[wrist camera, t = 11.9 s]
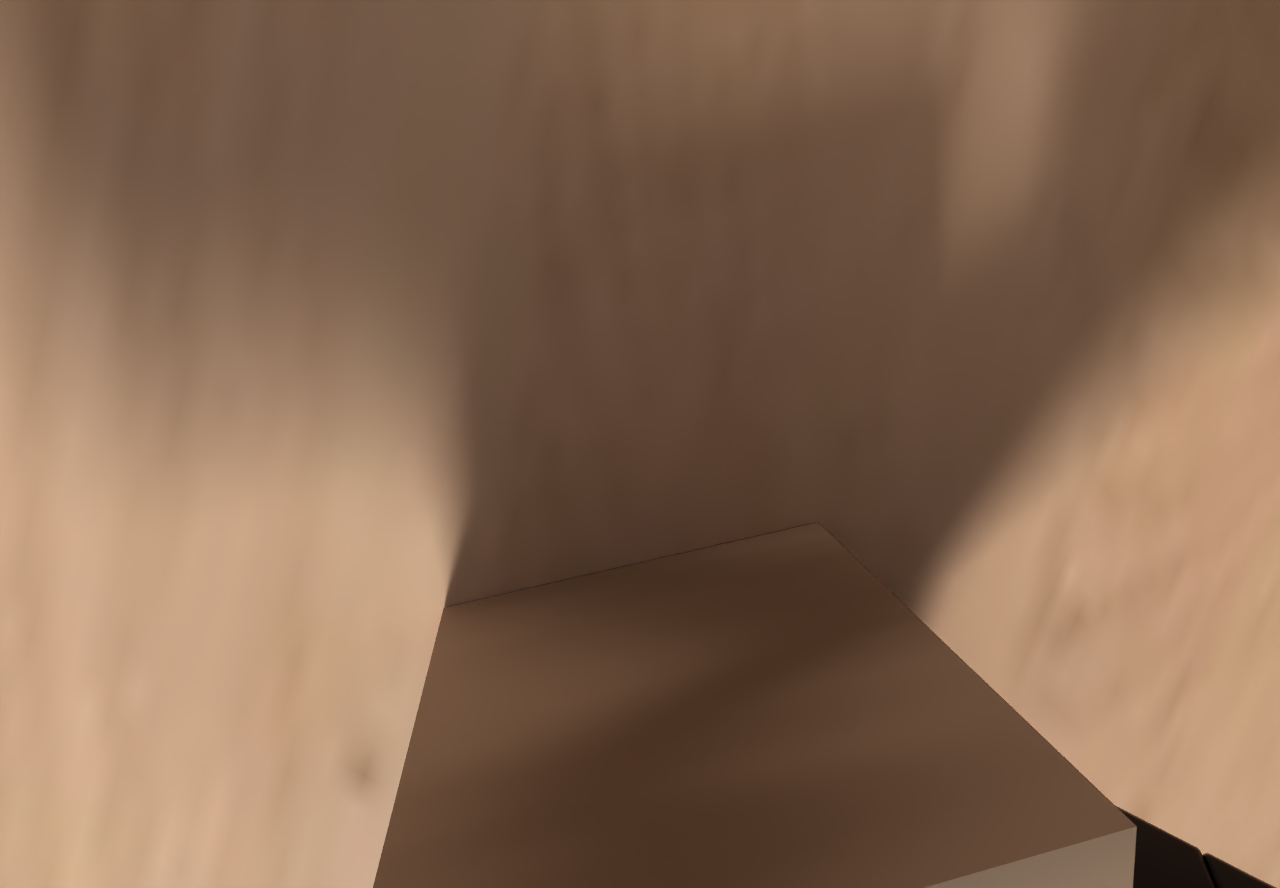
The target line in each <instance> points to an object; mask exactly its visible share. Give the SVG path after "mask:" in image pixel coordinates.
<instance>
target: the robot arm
mask: <svg viewBox="0 0 1280 888" xmlns="http://www.w3.org/2000/svg"><path fill="white" fill-rule="evenodd" d="M1116 807H1117V806H1116ZM1117 808H1118V809H1119V810H1120V811H1121V812H1122V813H1123V814H1124V815H1125V816H1126V817H1127V818H1128V819H1130V820H1131V821H1132V822H1133V823H1134V824H1135V825H1136V826H1137V831H1136V847H1135V863H1134V878H1133V888H1276V887H1274V886H1272V885H1270V884H1268V883H1266V882H1264V881H1262V880H1260V879H1258V878H1256V877H1254V876H1252V875H1250V874H1248V873H1246V872H1244V871H1242V870H1240V869H1238V868H1236V867H1234V866H1232V865H1230V864H1228V863H1226V862H1224V861H1222V860H1220V859H1219V858H1217V857H1215V856H1213V855H1211V854H1208V853H1205V854H1203V855H1202V853H1201V852H1200V850H1199V849H1198V848H1197V847H1195V846H1193V845H1191V844H1189V843H1187V842H1185V841H1183V840H1181V839H1179V838H1177V837H1175V836H1173V835H1171V834H1169V833H1168V832H1166V831H1164V830H1162V829H1160V828H1158V827H1156V826H1154V825H1152V824H1150V823H1148V822H1146V821H1144V820H1142V819H1140V818H1138V817H1136V816H1134V815H1133V814H1131V813H1129V812H1127V811H1125V810H1123V809H1121V808H1119V807H1117Z"/></svg>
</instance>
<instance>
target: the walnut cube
mask: <svg viewBox="0 0 1280 888" xmlns="http://www.w3.org/2000/svg"><path fill="white" fill-rule="evenodd" d="M1136 831H1137V826H1136V825H1135V824H1134V823H1133V822H1132V821H1131V820H1130V819H1128V818H1127V817H1126V816H1125V815H1124V814H1123V813H1122V812H1121V811H1120V810H1119V809H1118V808H1117V807H1116V806H1115V805H1114V804H1113V803H1112V802H1111V801H1110V800H1109V799H1108V798H1106V797H1105V796H1104V795H1103V794H1102V793H1101V792H1100V791H1099V790H1098V789H1097V788H1096V787H1095V786H1094V785H1093V784H1092V783H1091V782H1090V781H1089V780H1088V779H1087V778H1085V777H1084V776H1083V775H1082V774H1081V773H1080V772H1079V771H1078V770H1077V769H1076V768H1075V767H1074V766H1073V765H1072V764H1071V763H1070V762H1069V761H1068V760H1067V759H1066V758H1065V757H1063V756H1062V755H1061V754H1060V753H1059V752H1058V751H1057V750H1056V749H1055V748H1054V747H1053V746H1052V745H1051V744H1050V743H1049V742H1048V741H1047V740H1046V739H1045V738H1044V737H1043V736H1041V735H1040V734H1039V733H1038V732H1037V731H1036V730H1035V729H1034V728H1033V727H1032V726H1031V725H1030V724H1029V723H1028V722H1027V721H1026V720H1025V719H1024V718H1023V717H1022V716H1021V715H1019V714H1018V713H1017V712H1016V711H1015V710H1014V709H1013V708H1012V707H1011V706H1010V705H1009V704H1008V703H1007V702H1006V701H1005V700H1004V699H1003V698H1002V697H1001V696H1000V695H999V694H997V693H996V692H995V691H994V690H993V689H992V688H991V687H990V686H989V685H988V684H987V683H986V682H985V681H984V680H983V679H982V678H981V677H980V676H979V675H978V674H977V673H975V672H974V671H973V670H972V669H971V668H970V667H969V666H968V665H967V664H966V663H965V662H964V661H963V660H962V659H961V658H960V657H959V656H958V655H957V654H956V653H955V652H953V651H952V650H951V649H950V648H949V647H948V646H947V645H946V644H945V643H944V642H943V641H942V640H941V639H940V638H939V637H938V636H937V635H936V634H935V633H934V632H933V631H931V630H930V629H929V628H928V627H927V626H926V625H925V624H924V623H923V622H922V621H921V620H920V619H919V618H918V617H917V616H916V615H915V614H914V613H913V612H912V611H911V610H909V609H908V608H907V607H906V606H905V605H904V604H903V603H902V602H901V601H900V600H899V599H898V598H897V597H896V596H895V595H894V594H893V593H892V592H891V591H890V590H889V589H887V588H886V587H885V586H884V585H883V584H882V583H881V582H880V581H879V580H878V579H877V578H876V577H875V576H874V575H873V574H872V573H871V572H870V571H869V570H868V569H867V568H865V567H864V566H863V565H862V564H861V563H860V562H859V561H858V560H857V559H856V558H855V557H854V556H853V555H852V554H851V553H850V552H849V551H848V550H847V549H846V548H845V547H843V546H842V545H841V544H840V543H839V542H838V541H837V540H836V539H835V538H834V537H833V536H832V535H831V534H830V533H829V532H828V531H827V530H826V529H825V528H824V527H823V526H821V525H820V524H819V523H818V522H817V523H812V524H808V525H804V526H799V527H795V528H791V529H786V530H782V531H778V532H773V533H769V534H764V535H760V536H756V537H751V538H747V539H743V540H738V541H734V542H729V543H725V544H721V545H716V546H712V547H708V548H703V549H699V550H695V551H690V552H686V553H681V554H677V555H673V556H668V557H664V558H660V559H655V560H651V561H647V562H642V563H638V564H633V565H629V566H625V567H620V568H616V569H612V570H607V571H603V572H599V573H594V574H590V575H585V576H581V577H577V578H572V579H568V580H564V581H559V582H555V583H551V584H546V585H542V586H537V587H533V588H529V589H524V590H520V591H516V592H511V593H507V594H502V595H498V596H494V597H489V598H485V599H481V600H476V601H472V602H468V603H463V604H459V605H454V606H450V607H446V608H444V609H443V613H442V617H441V621H440V625H439V629H438V633H437V637H436V641H435V645H434V649H433V653H432V657H431V661H430V665H429V669H428V672H427V676H426V680H425V684H424V688H423V692H422V696H421V700H420V704H419V708H418V712H417V716H416V720H415V724H414V728H413V732H412V736H411V740H410V744H409V748H408V751H407V755H406V759H405V763H404V767H403V771H402V775H401V779H400V783H399V787H398V791H397V795H396V799H395V803H394V807H393V811H392V815H391V819H390V823H389V827H388V831H387V834H386V838H385V842H384V846H383V850H382V854H381V858H380V862H379V866H378V870H377V874H376V878H375V882H374V886H373V888H1133V878H1134V863H1135V847H1136Z"/></svg>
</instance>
